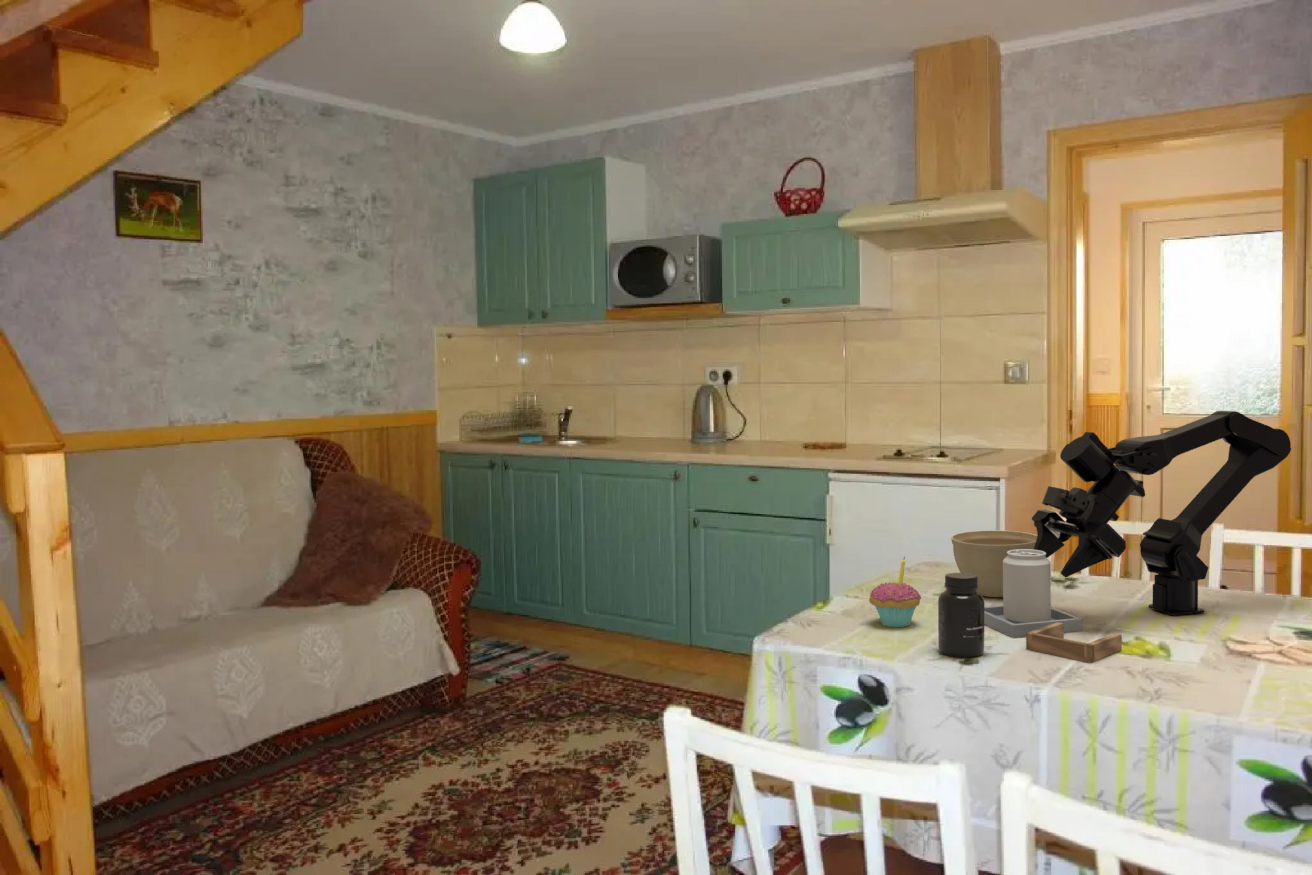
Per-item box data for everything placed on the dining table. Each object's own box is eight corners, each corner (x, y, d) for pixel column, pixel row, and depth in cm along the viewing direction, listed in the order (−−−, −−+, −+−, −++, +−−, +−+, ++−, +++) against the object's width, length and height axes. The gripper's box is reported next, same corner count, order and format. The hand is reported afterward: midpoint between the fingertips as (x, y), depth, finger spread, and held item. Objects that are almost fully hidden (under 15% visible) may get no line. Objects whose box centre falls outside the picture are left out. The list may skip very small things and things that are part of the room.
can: (1042, 629, 167) (1041, 556, 166) (997, 623, 172) (996, 552, 171) (1056, 619, 173) (1056, 549, 172) (1012, 614, 178) (1011, 545, 177)
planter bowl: (968, 580, 208) (967, 527, 207) (1050, 588, 198) (1050, 533, 197) (939, 596, 195) (938, 540, 194) (1026, 606, 185) (1026, 546, 184)
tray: (1038, 613, 180) (1038, 602, 180) (1082, 630, 167) (1082, 618, 167) (972, 619, 177) (972, 607, 177) (1013, 637, 165) (1013, 625, 165)
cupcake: (929, 622, 176) (928, 553, 175) (905, 633, 170) (903, 561, 169) (885, 615, 182) (884, 548, 181) (860, 625, 176) (858, 556, 175)
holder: (1057, 637, 164) (1057, 622, 164) (1121, 650, 156) (1121, 634, 156) (1026, 648, 158) (1026, 633, 158) (1090, 662, 150) (1090, 646, 150)
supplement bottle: (978, 660, 153) (977, 581, 152) (932, 655, 157) (931, 577, 156) (989, 649, 159) (989, 572, 158) (945, 644, 162) (944, 569, 162)
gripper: (1040, 464, 181) (985, 531, 180) (1108, 474, 163) (1047, 549, 162) (1080, 504, 184) (1027, 571, 182) (1152, 519, 165) (1093, 593, 164)
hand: (1046, 570), depth 172 cm, fingers open, 9 cm apart
